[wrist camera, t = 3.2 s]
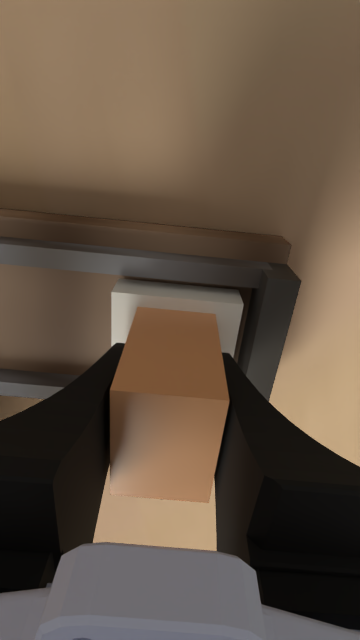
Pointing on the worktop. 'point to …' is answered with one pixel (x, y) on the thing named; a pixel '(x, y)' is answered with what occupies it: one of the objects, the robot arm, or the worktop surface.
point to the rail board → (102, 275)
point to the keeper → (169, 387)
